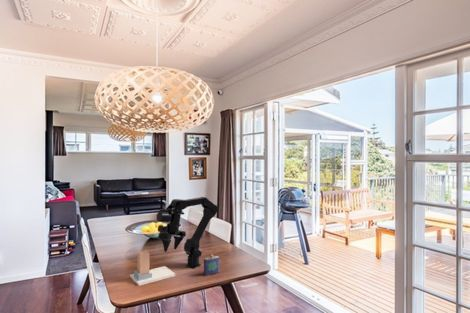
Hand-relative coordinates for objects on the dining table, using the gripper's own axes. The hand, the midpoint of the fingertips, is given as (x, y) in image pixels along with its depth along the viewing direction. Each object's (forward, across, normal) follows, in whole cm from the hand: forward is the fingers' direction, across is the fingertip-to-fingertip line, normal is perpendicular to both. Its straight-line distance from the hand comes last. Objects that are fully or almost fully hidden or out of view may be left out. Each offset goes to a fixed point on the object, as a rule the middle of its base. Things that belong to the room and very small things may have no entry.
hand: (170, 250), depth 163 cm
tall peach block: (+13, +10, -8) cm, 18 cm away
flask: (+10, -11, +22) cm, 26 cm away
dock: (+14, +5, -5) cm, 16 cm away
